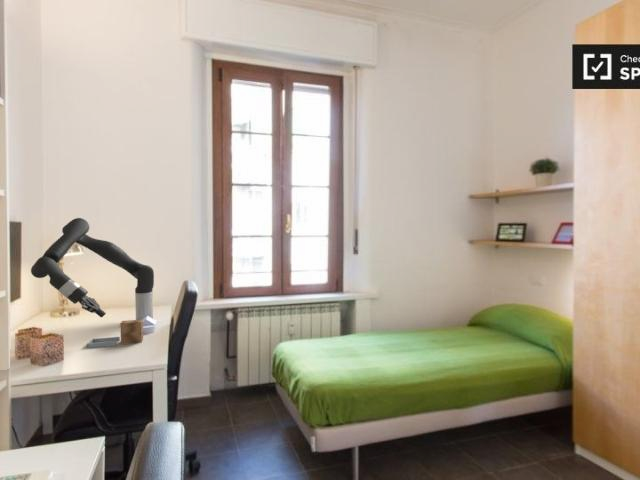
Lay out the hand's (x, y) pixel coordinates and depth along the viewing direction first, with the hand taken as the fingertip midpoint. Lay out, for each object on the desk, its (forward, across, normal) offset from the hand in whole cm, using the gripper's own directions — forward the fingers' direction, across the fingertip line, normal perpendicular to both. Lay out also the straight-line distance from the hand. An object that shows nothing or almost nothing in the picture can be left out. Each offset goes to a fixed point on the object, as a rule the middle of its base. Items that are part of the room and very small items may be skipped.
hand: (103, 315), depth 178 cm
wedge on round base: (+21, -19, +1) cm, 28 cm away
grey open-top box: (+10, 0, -10) cm, 14 cm away
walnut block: (+18, 0, -1) cm, 18 cm away
